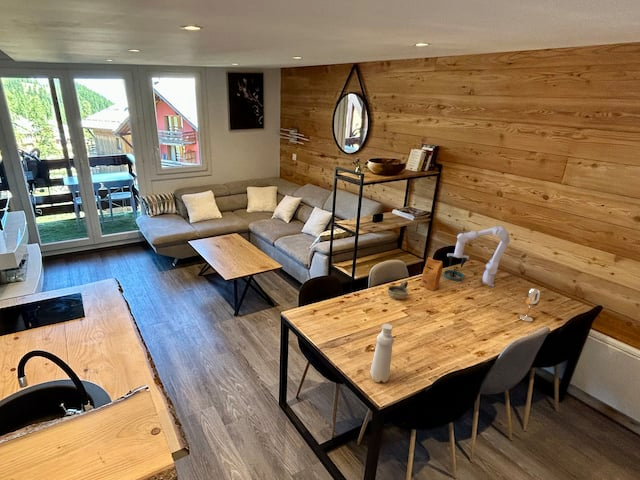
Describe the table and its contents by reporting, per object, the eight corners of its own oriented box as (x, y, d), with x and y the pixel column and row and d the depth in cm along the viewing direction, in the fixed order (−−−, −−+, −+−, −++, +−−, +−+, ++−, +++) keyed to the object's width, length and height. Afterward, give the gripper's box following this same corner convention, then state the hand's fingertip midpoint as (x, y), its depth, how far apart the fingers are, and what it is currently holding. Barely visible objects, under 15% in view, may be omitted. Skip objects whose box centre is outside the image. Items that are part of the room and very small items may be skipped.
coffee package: (425, 281, 290) (430, 254, 282) (440, 287, 282) (446, 260, 273) (417, 285, 285) (422, 257, 276) (432, 291, 276) (438, 263, 267)
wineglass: (532, 317, 248) (541, 289, 240) (533, 323, 242) (543, 294, 234) (518, 314, 251) (526, 286, 243) (519, 319, 244) (528, 291, 237)
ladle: (450, 275, 300) (452, 267, 298) (456, 277, 298) (458, 268, 295) (448, 277, 297) (450, 268, 294) (454, 278, 295) (456, 270, 292)
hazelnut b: (447, 275, 300) (446, 273, 300) (450, 275, 299) (449, 272, 299) (447, 276, 298) (446, 274, 298) (450, 275, 298) (449, 273, 298)
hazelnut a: (455, 279, 294) (455, 277, 295) (457, 280, 294) (457, 277, 295) (457, 278, 292) (457, 276, 293) (459, 279, 293) (459, 277, 294)
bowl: (382, 296, 268) (384, 283, 264) (396, 288, 278) (398, 276, 275) (400, 304, 258) (402, 291, 254) (414, 296, 269) (416, 283, 265)
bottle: (385, 371, 196) (394, 321, 184) (390, 384, 188) (400, 332, 176) (367, 371, 196) (375, 321, 184) (372, 384, 187) (380, 332, 175)
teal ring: (442, 273, 304) (443, 268, 303) (461, 276, 301) (462, 271, 299) (443, 281, 292) (444, 276, 290) (464, 284, 288) (465, 279, 286)
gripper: (449, 250, 285) (445, 266, 290) (470, 252, 281) (466, 269, 287) (448, 246, 291) (445, 263, 297) (469, 249, 288) (465, 266, 293)
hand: (455, 266), depth 292 cm, fingers open, 7 cm apart
